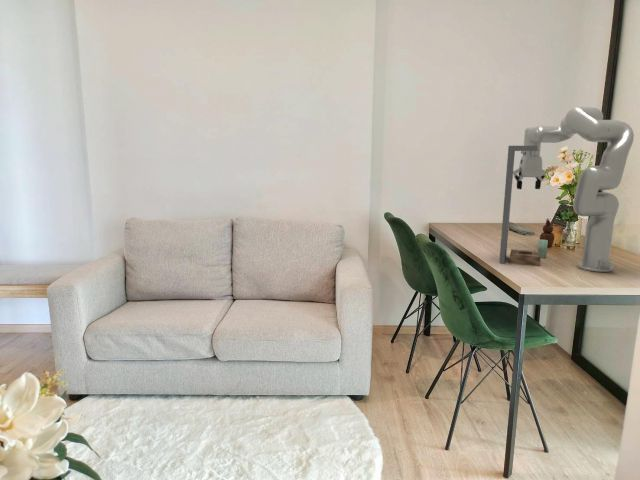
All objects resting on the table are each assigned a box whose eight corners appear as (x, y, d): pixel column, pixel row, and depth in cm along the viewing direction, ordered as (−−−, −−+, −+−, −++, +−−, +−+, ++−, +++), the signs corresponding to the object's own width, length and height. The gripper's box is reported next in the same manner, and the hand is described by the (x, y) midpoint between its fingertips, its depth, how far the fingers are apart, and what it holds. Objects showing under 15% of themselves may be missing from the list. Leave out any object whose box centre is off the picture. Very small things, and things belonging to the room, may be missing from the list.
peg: (548, 258, 219) (549, 240, 218) (540, 258, 218) (542, 241, 217) (541, 256, 223) (543, 239, 221) (534, 256, 222) (536, 239, 220)
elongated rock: (521, 238, 279) (538, 239, 279) (523, 229, 278) (540, 230, 278) (498, 226, 313) (513, 227, 313) (499, 218, 312) (514, 219, 312)
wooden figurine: (544, 248, 242) (547, 218, 240) (536, 246, 248) (539, 217, 245) (555, 247, 244) (558, 218, 241) (547, 245, 250) (550, 216, 247)
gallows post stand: (527, 258, 218) (537, 146, 209) (526, 265, 203) (537, 145, 194) (501, 256, 222) (510, 146, 213) (499, 263, 208) (508, 145, 199)
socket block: (539, 260, 214) (540, 251, 213) (539, 266, 203) (540, 256, 202) (510, 257, 219) (511, 249, 218) (509, 263, 208) (510, 254, 207)
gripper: (519, 153, 227) (516, 189, 230) (552, 153, 229) (549, 189, 232) (510, 153, 234) (507, 188, 237) (543, 153, 237) (540, 188, 240)
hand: (528, 189), depth 235 cm, fingers open, 9 cm apart
